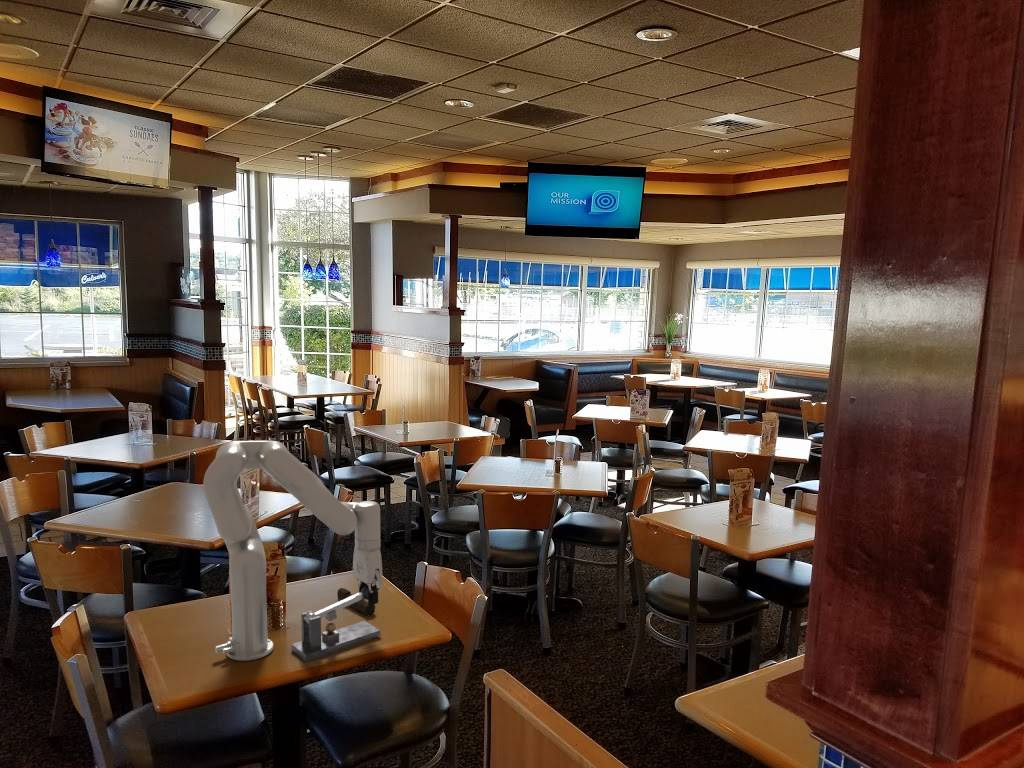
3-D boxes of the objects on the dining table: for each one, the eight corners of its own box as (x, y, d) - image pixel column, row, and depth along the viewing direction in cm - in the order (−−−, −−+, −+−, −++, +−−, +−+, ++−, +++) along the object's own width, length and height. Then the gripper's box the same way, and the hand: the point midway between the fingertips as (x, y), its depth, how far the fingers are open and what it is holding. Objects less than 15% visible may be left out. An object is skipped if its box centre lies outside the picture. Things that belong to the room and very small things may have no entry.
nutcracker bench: (306, 661, 204) (305, 624, 203) (291, 650, 210) (290, 613, 209) (380, 636, 220) (379, 601, 219) (364, 626, 226) (364, 592, 225)
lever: (311, 631, 207) (308, 616, 206) (304, 626, 210) (301, 611, 209) (379, 599, 221) (377, 584, 220) (372, 595, 224) (369, 580, 223)
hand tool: (376, 614, 236) (375, 600, 236) (365, 618, 233) (365, 604, 233) (345, 597, 250) (345, 584, 249) (334, 600, 247) (334, 587, 247)
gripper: (342, 538, 223) (343, 596, 225) (371, 552, 211) (372, 613, 212) (364, 533, 228) (365, 590, 230) (393, 547, 216) (394, 606, 217)
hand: (368, 600), depth 221 cm, fingers closed on lever, 4 cm apart
